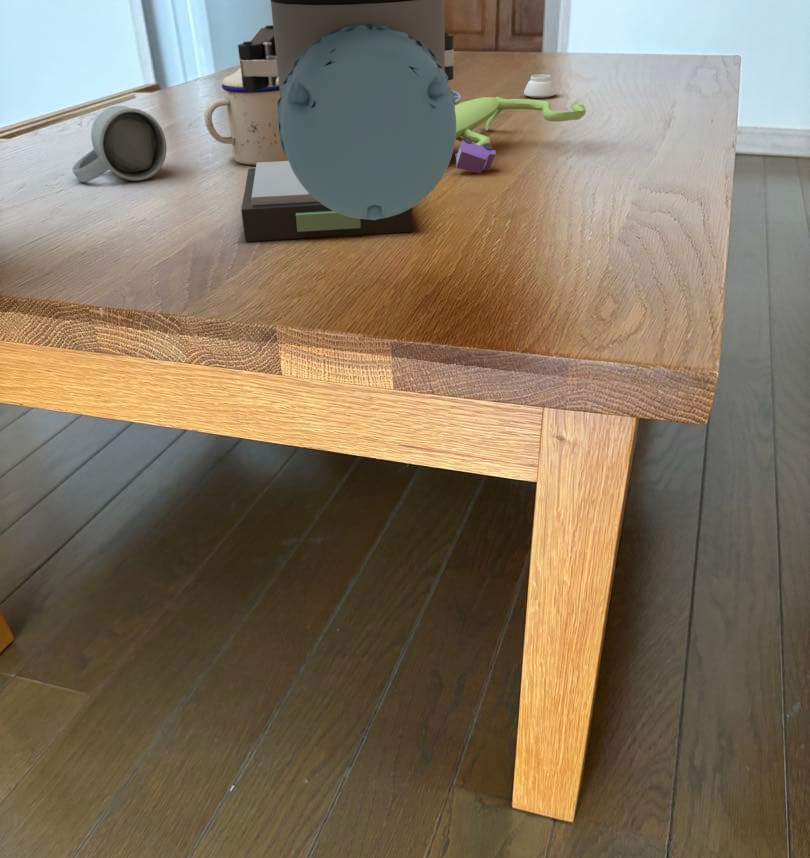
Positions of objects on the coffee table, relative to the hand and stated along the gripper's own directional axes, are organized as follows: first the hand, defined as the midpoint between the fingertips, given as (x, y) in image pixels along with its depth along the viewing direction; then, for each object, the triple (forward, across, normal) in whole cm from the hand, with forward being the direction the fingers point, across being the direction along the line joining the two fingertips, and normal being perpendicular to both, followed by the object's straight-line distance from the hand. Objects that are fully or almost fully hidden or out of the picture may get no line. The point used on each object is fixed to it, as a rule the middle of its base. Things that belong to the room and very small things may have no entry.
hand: (338, 32), depth 68 cm
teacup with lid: (+42, -10, -18) cm, 47 cm away
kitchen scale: (+16, -2, -18) cm, 24 cm away
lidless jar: (+76, +34, -18) cm, 85 cm away
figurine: (+40, +18, -18) cm, 47 cm away
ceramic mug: (+37, -26, -18) cm, 49 cm away
